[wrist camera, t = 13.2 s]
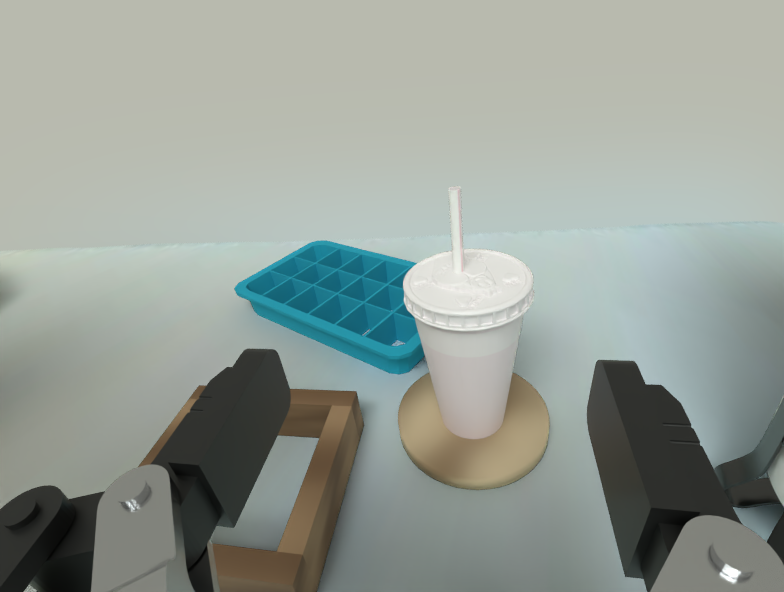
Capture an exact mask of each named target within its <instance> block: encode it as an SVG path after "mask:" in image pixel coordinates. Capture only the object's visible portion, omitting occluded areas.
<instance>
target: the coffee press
mask: <svg viewBox="0 0 784 592" xmlns="http://www.w3.org/2000/svg"><path fill="white" fill-rule="evenodd" d="M714 471H715V473H716V475H717V477H718V479H719V481H720V483H721V485H722V487H723V489H724V491H725V493H726V495H727V497H728V499H729V501H730V503H731V505H732V506H733V507H738V508H750V507H756V506H762V505H769V504H782V505H783V507H784V395H783V397H782V399H781V402H780V404H779V406H778V408H777V410H776V412H775V414H774V416H773V418H772V421H771V423H770V425H769V427H768V429H767V431H766V433H765V434H764V436H763V438H762V440H761V441H760V443H759V445H758V446H757V447H756V449H755V450H754V451H752V452H751V453H749V454H748V455H745V456H743V457H741V458H738V459H735V460H733V461H730V462H727V463H724V464H721V465H719V466H717V467H716V468H715V470H714ZM766 471H767V473H768V476H769V478H764V479H757V478H759V477H761V476H762V475H763V474H765V473H766ZM755 479H757V480H755ZM767 543H768V544H769V545H770V546H771V548H772V549H773V550H774V551H775V552H776V553H777V555H778V556H779V557H780V558H782V559H784V512H783V514H782V516H781V518H780V519H779V521H778V523H777V524H776V526H775V528H774V530H773V531H772V533H771V535H770V537H769V539H768V541H767Z"/></svg>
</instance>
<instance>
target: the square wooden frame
mask: <svg viewBox="0 0 784 592" xmlns="http://www.w3.org/2000/svg"><path fill="white" fill-rule="evenodd" d="M205 387H206V386H198V388H197V389H196V390H195V392H194V393H193V394H192V396H191V397H190V398H189V400H188V401H187V402H186V404H185V405H184V406H183V408H182V409H181V410H180V412H179V413H178V414H177V416H176V417H175V418H174V420H173V421H172V422H171V424H170V425H169V426H168V428H167V429H166V430H165V432H164V433H163V434H162V436H161V437H160V438H159V440H158V441H157V442H156V444H155V445H154V446H153V448H152V449H151V450H150V452H149V453H148V454H147V456H146V457H145V458H144V460H143V461H142V462H141V464H140V465H139V466H138V467H140V466H144V465H150V464H151V463H152V461H153V460H154V459H155V457H156V456H157V454H158V453H159V452H160V450H161V449H162V447H163V446H164V445H165V443H166V442H167V440H168V439H169V438H170V436H171V435H172V433H173V432H174V431H175V429H176V428H177V426H178V425H179V424H180V422H181V421H182V420H183V418H184V417H185V415H186V414H187V413H188V412H190V408H191V407H192V406H193V404H194V403H195V401H196V400H197V399H199V396H200V394H201V393H202V392H203V390H204V389H205ZM290 393H291V403H290V408H289V411H288V414H287V416H286V418H285V420H284V422H283V425H282V427H281V429H280V431H279V433H278V435H284V436H300V437H316V438H319V441H318V444H317V446H316V449H315V451H314V454H313V457H312V459H311V462H310V465H309V467H308V470H307V473H306V475H305V478H304V481H303V483H302V486H301V488H300V491H299V494H298V496H297V499H296V502H295V504H294V507H293V510H292V512H291V515H290V518H289V520H288V523H287V525H286V528H285V531H284V533H283V536H282V539H281V541H280V544H279V547H278V549H277V551H269V550H261V549H252V548H244V547H236V546H228V545H220V544H212V545H213V551H214V558H215V564H216V570H217V576H218V583H219V589H220V592H317V589H318V585H319V582H320V578H321V575H322V571H323V568H324V564H325V561H326V557H327V554H328V550H329V546H330V543H331V539H332V536H333V532H334V529H335V525H336V522H337V518H338V515H339V511H340V508H341V504H342V501H343V497H344V494H345V490H346V487H347V483H348V480H349V476H350V472H351V469H352V465H353V462H354V458H355V455H356V451H357V448H358V444H359V441H360V437H361V434H362V430H363V427H364V423H363V419H362V414H361V410H360V406H359V401H358V397H357V393H356V391H331V390H305V389H290Z"/></svg>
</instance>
